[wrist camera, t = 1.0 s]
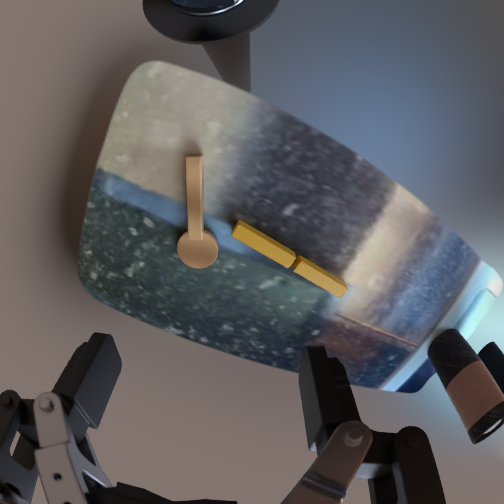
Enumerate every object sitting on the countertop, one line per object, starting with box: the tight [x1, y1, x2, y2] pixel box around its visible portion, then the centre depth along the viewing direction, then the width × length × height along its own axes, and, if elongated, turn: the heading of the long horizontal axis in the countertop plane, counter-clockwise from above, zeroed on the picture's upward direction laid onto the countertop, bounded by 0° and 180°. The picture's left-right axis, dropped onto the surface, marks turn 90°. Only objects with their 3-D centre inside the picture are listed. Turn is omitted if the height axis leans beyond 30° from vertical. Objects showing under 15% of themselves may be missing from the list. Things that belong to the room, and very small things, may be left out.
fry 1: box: [231, 220, 296, 268], centre depth 29 cm, size 7×2×2 cm, turn 58°
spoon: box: [177, 155, 219, 268], centre depth 27 cm, size 12×4×2 cm, turn 178°
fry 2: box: [292, 255, 348, 298], centre depth 30 cm, size 7×2×2 cm, turn 58°
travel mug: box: [428, 329, 504, 444], centre depth 28 cm, size 8×8×20 cm
